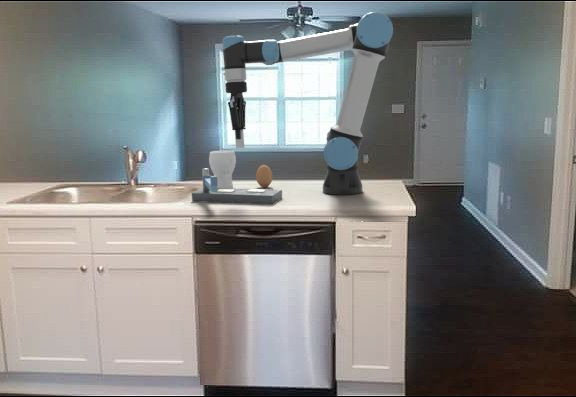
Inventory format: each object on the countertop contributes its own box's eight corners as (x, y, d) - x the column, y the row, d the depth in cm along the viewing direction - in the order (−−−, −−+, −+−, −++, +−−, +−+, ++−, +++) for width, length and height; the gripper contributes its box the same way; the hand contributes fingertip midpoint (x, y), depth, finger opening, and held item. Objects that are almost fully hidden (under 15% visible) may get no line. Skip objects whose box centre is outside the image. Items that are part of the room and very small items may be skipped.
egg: (275, 186, 230) (275, 164, 228) (266, 189, 224) (266, 166, 223) (262, 185, 233) (261, 163, 232) (253, 187, 228) (252, 165, 226)
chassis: (282, 198, 204) (281, 167, 202) (272, 204, 193) (271, 172, 191) (205, 195, 212) (204, 166, 210) (192, 201, 201) (190, 170, 199)
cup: (232, 191, 220) (231, 153, 217) (206, 191, 222) (204, 153, 219) (240, 187, 230) (238, 150, 227) (215, 186, 232) (213, 150, 230)
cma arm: (219, 194, 184) (218, 176, 183) (210, 195, 184) (209, 177, 183) (210, 185, 203) (210, 169, 202) (203, 186, 202) (202, 169, 201)
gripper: (232, 82, 206) (236, 146, 211) (219, 81, 194) (224, 150, 198) (251, 81, 205) (255, 146, 209) (239, 80, 192) (244, 149, 196)
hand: (240, 147), depth 203 cm, fingers closed
